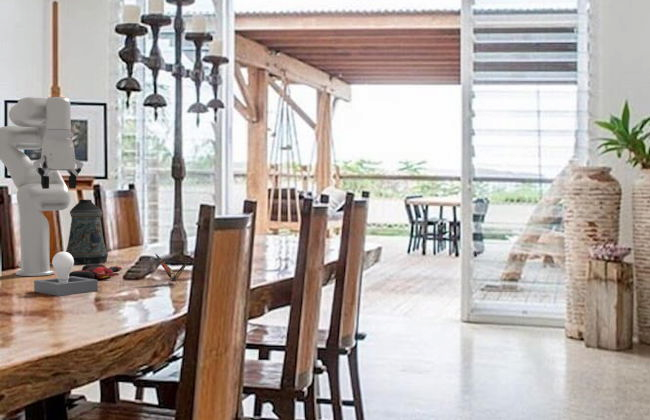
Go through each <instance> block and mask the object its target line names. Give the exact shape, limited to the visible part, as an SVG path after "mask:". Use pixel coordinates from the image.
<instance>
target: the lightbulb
mask: <svg viewBox="0 0 650 420" xmlns="http://www.w3.org/2000/svg"><path fill="white" fill-rule="evenodd" d="M51 261H52V263H51V264H52V266H53V270H55V272H56V276H57V278H58V280H59V283H67V282H68V279H69V273H70V272H72V271H71V270H72V269H73V267H74V265H75V264H74V259H73V257H72V255H71V254H69V253H68V252H66V251H60V252H57V253H55V255H53V258H52V259H51Z"/></svg>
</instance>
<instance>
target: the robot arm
mask: <svg viewBox="0 0 650 420" xmlns="http://www.w3.org/2000/svg"><path fill="white" fill-rule="evenodd" d="M8 116H9V117H8V118H9V119H10V121H11V123H12V124H14V125H7V126H1V127H0V161H1V163H3V165H4V166H5V168H6V169H7V171H8V173H9V176H10V177H11V180H12V183H13V184H14V185H15V187H16V189H17V192H16V201H17V207H18V212H19V233H20V237H19V239H20V241H19V242H20V262H18V264H17V265H18V267H20V270H17V271H16V272H15V276H16V275H17V276H21V277H42V276H49V275H53V274H55V272H56V270H55V269H54V268H53V269H51V265H50V264H51V263H50V260H51V259H50V258H51V256H50V255H51V252H50V250H51V249H50V247H51V245H50V239H51V238H50V237H51V236H50V222H49V220H48V219H47V217H46V215H44V213H43V212H49V211H51V212H52V211H53V212H54V211H63V210H66V209H67V208H68V207H69V205H70V203H71V194H70V191H69V190H70V189H76V188H77V177H78V176H79V174H81V171H82V168H83V166H84V162H81V161H80V160H79V159H77V158H76V153H75V146H74V145H75V144H74V141H73V140H71V139H72V138H74V136H75V134H74V132H72V130H71V129H72V126H71V124H72V123H71V121H72V120H71V119H72V117H71V101H70V99H69V98H67V97H63V96H62V97H60V96H52V97H51V96H50V97H47V98H46V97H44V98H43V97H31V96H30V97H23V98H20V99H18V101H17V103H16V104H14V105H13V106H12V107H11V108H10V109H9V111H8ZM40 149H41V153H40V154H41V155H40V156H41V157H40V158H39V159H38V160H37V159H36V160H35V161H31V158H30V157H29V156H28V155H27V154H25V152H23V150H25V151H26V150H27V151H28V150H31V151H36V150H40ZM32 162H33V163H32ZM60 171H67V173H68V174H69V176H68V187H67V184H66V182H65V180H64V178H63V176H62V174H61V173H60Z"/></svg>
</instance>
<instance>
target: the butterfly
mask: <svg viewBox="0 0 650 420" xmlns="http://www.w3.org/2000/svg"><path fill="white" fill-rule="evenodd" d="M192 255H193V254H191V255H190V256H189V257H188V258H187V259H186V261H185V262H184V263H183V264H182V266H181V267H180V268H179V269H178V271H177V272H176V274H175V272H174V270H172V268H171V267H170V266H169V265H168V264H167V263H166V262H165V261H163V259H162V257H160V256H159V254H157V253H155V257H156V258H157V260H158V261H159V263H160V265H161V266H162V268H163V269H164V271H165V272H166V273H167V276H168V277H169V278H168V280H167V283H166V284H165V286H167V285H168V284H169V283H171V282H175V284H176V285H178V283H177V282H180V281H179V277H180V276H181V274H182V273H183V271H184V270H185V268H186V267H187V263H188V261H189V259H190V258H191V257H192Z"/></svg>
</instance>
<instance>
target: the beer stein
mask: <svg viewBox="0 0 650 420" xmlns="http://www.w3.org/2000/svg"><path fill="white" fill-rule="evenodd" d="M69 214H70V215H69V216H70V217H71V222H70V230H69V235H68V240H67V241H68V242H67V247H66V250H65V252H68V253H69V254H71V255H72V257H73V259H74V264H73V265H83V266H85V265H88V264H105V262H106V263H107V260H108V257H109V254H108V253H109V252H108V250H107V248H106V245H105V241H104V235H103V232H104V231H103V227H102V221H101V219H102V218H101V217H102V215H103V211H102V209H101V208H100V207H99V206H97V205H96V204H94V203H93V201H92V199H79V200H78V202H77V204H75V206H73V207H72V208H71V210H70V211H69Z"/></svg>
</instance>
